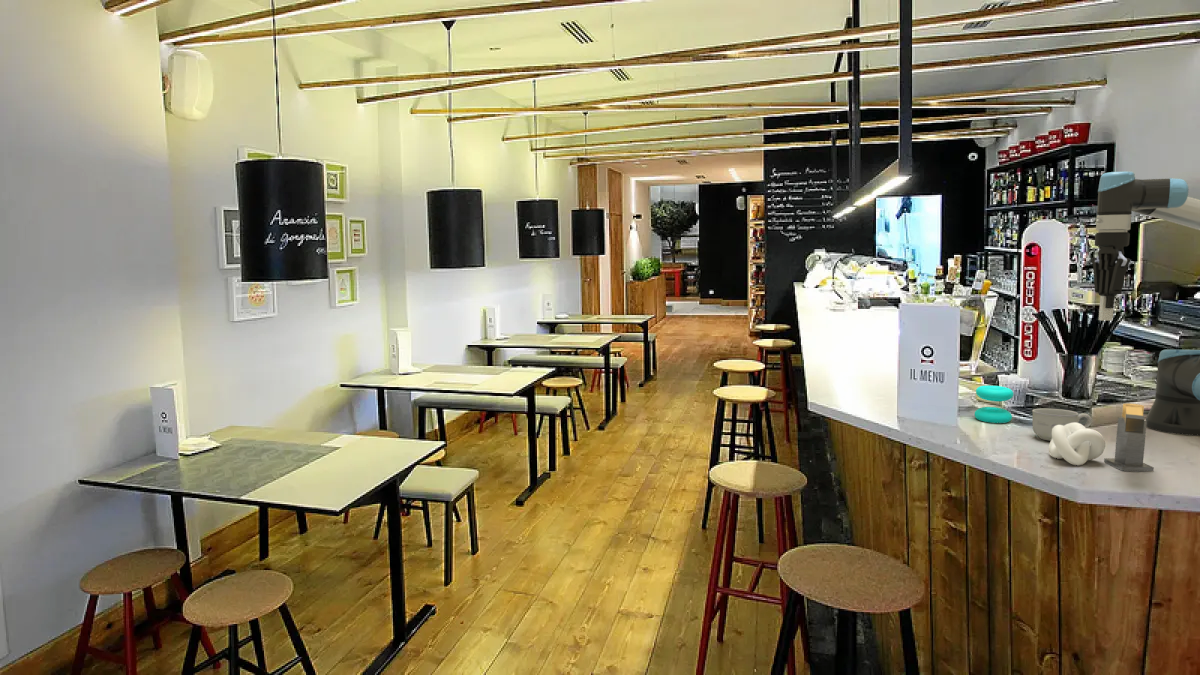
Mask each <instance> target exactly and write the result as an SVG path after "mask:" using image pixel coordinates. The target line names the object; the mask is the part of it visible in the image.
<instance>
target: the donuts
mask: <svg viewBox="0 0 1200 675" xmlns="http://www.w3.org/2000/svg"><path fill="white" fill-rule="evenodd" d="M975 394H976V395H977V397H979V398H980V399H983V400H985V401H990V402H1005V401H1010V400H1011V399H1012V398H1013V397H1014V391H1013V390H1012V389H1011V388H1010V387H1006V386H1000V385H988V384H987V385H980V386H978V387H976V390H975ZM974 418H976V420H979V421H980V422H985V423H989V424H1007V423H1009V422H1011V420H1012V418H1013V415H1012V413H1011V412H1010V411H1009V410H1007V409H1005V408H1002V407H998V406H997V407H996V406H982V407H979V408H977V409H975V411H974Z"/></svg>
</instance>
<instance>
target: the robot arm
mask: <svg viewBox="0 0 1200 675" xmlns="http://www.w3.org/2000/svg"><path fill="white" fill-rule="evenodd" d="M1097 194H1098V195H1097V211H1096V219H1095V224H1096V226H1095V230H1096V231H1098V232H1096V233H1095V234H1094V236H1095V237H1094V246H1095V247H1099V249H1098V252H1097V256H1095V257H1091V263H1092V267H1093V268H1092V269H1093V282H1094V283H1093V284H1094V292H1095V293H1097V294H1098V296H1099V310H1098V321H1113V316H1114V307H1115V297H1116V296H1117V295H1121V293H1122V290H1123V287H1124V282H1125V278H1126V275H1127V270H1128V266H1129V264H1130V263H1131V258H1129V257H1128V258H1127V257H1125V256H1124V255H1125V250H1124V247H1128V246H1129V245H1130V237H1131V236H1130V235H1131V234H1130V232H1129V231H1130V230H1131V222H1132V212H1134V213H1138V214H1141V215H1145V216H1149V217H1153V218H1156V219H1159V220H1163V221H1166V222H1170V223H1173V224H1177V225H1181V226H1184V227H1188V228H1190V229H1194V230H1197V231H1200V199H1198V198H1195V197H1191V196H1189V185H1188V183H1187V181H1186V180H1184V179H1182V178H1172V177H1169V178H1148V179H1137V178H1136V176H1135V173H1134V172H1133V171H1127V170H1126V171H1111V172H1104V173H1103V174H1102V175H1101V176H1100V177H1099V184H1098V189H1097ZM1158 356H1159V357H1158V360H1157V371H1156V382H1155V383H1156V385H1155V395H1154V396H1155V397H1154V401H1153V404H1152V405H1151V407H1150V409H1149V412H1148V413H1147V415H1146V417H1145V421H1147V425H1146V428H1148V429H1151V430H1154V431H1159V432H1162V433H1169V434H1174V435H1184V436H1200V349H1163V350H1161V351H1160V352H1159V354H1158Z"/></svg>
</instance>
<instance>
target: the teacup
mask: <svg viewBox="0 0 1200 675" xmlns="http://www.w3.org/2000/svg"><path fill="white" fill-rule="evenodd" d="M1082 418H1086V422H1085V424H1084V425H1083V424H1082V425H1083V426H1084V427H1085V428H1086V429H1089V428H1090V426H1091V425H1092V423H1093V420H1092V417H1091V416H1090V414H1087V413H1085V412H1084V413H1083V412H1081V413H1078V412H1076V411H1074V410H1068V409H1061V408H1033V409H1032V431H1033V433H1034V434H1035V435H1036V436H1038V438H1039V439H1041V440H1043V441H1048V442H1049V441H1050V442H1051V439H1052V429H1053V428H1054V426H1056V425H1063V426H1064V425H1066V424H1069V423H1074V422H1076V423H1079V422H1080V420H1081V419H1082Z"/></svg>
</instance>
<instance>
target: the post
mask: <svg viewBox="0 0 1200 675" xmlns="http://www.w3.org/2000/svg"><path fill="white" fill-rule="evenodd" d="M1146 425H1147V421H1146V420H1144V429H1143V434H1140V433H1131V432H1125V418H1123V417H1122V416H1121V417H1117V426H1116V440H1115V450H1114V451H1115V452H1114V458H1113V457H1112V458H1111V457H1109V458H1107V457H1106V458H1104V459H1103V463H1104V462H1105V464H1106V463H1107V465H1108V464H1109V466H1110V467H1113V468H1115V467H1116V468H1115V469H1117V468H1118V469H1117V470H1119V469H1120V470H1119V471H1121V470H1124V471H1123V472H1147V471H1153V472H1154V471H1155V467H1153V466H1151V465H1150V464H1148V463H1145V462H1144V458H1145V457H1144V456H1145V445H1146V435H1147V434H1146V433H1147V426H1146Z"/></svg>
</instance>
